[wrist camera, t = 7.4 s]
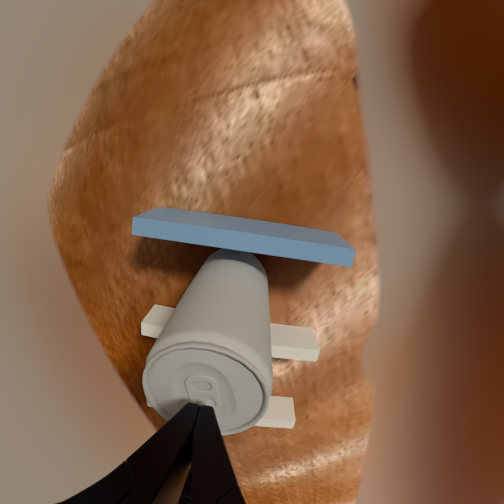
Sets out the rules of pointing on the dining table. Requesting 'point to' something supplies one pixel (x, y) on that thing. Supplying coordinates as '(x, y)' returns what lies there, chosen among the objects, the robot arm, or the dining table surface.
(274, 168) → the dining table surface
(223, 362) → the beverage can
